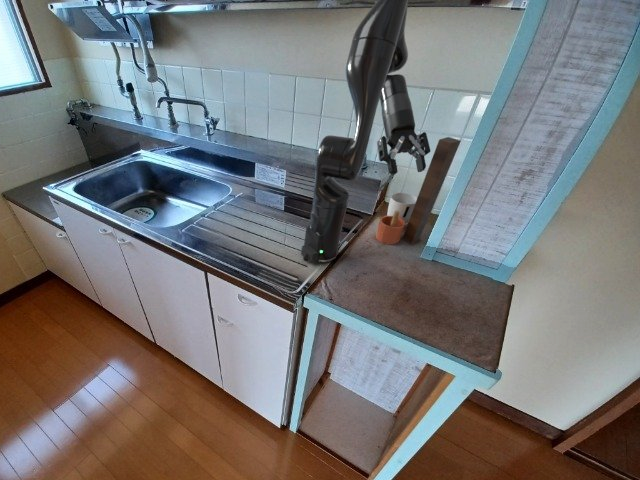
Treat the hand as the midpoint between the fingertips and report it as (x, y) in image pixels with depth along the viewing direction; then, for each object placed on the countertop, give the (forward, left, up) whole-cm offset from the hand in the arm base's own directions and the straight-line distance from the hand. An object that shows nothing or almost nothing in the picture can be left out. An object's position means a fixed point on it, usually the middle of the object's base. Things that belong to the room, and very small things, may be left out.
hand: (408, 172), depth 90 cm
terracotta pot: (0, 0, -21) cm, 21 cm away
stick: (0, -1, -21) cm, 21 cm away
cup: (+8, +4, -21) cm, 23 cm away
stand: (+5, -5, -21) cm, 22 cm away
